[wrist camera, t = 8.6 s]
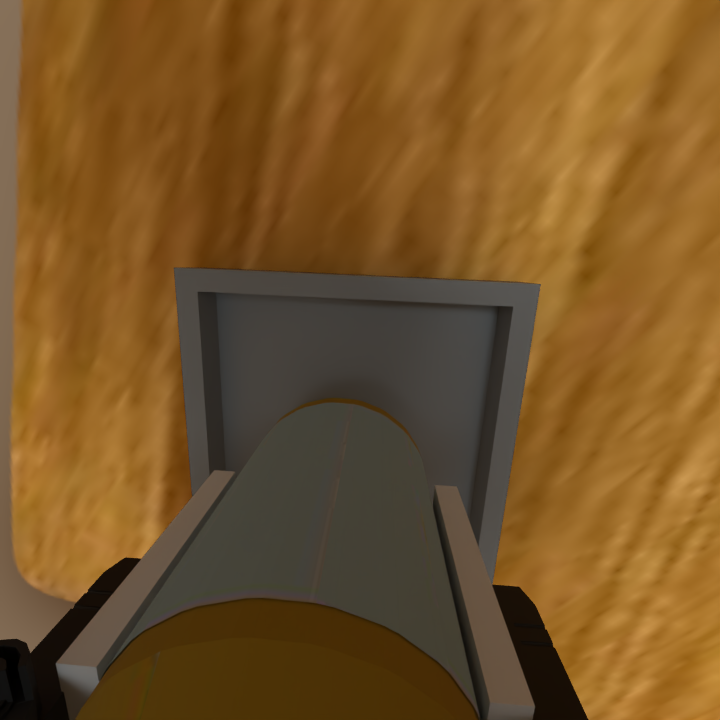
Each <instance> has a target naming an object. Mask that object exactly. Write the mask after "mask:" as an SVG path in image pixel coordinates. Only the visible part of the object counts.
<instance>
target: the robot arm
mask: <svg viewBox="0 0 720 720" xmlns="http://www.w3.org/2000/svg"><path fill="white" fill-rule="evenodd" d="M235 479H236V475H235V472H234V471H219V470H214V471H213V472H212V474H211V475H210V476H209V477H208V478H207V480H206V481H205V482H204V483H203V485H202V486H201V487H200V488H199V489H198V491H197V492H196V493H195V494H194V496H193V497H192V498H191V499H190V500H189V502H188V503H187V504H186V505H185V506H184V508H183V509H182V510H181V511H180V513H179V514H178V515H177V516H176V517H175V519H174V520H173V521H172V522H171V524H170V525H169V526H168V527H167V528H166V530H165V531H164V532H163V533H162V534H161V536H160V537H159V538H158V539H157V541H156V542H155V543H154V544H153V545H152V547H151V548H150V549H149V550H148V552H147V553H146V554H145V555H144V556H143V558H142V559H138V558H124V559H122V560H121V561H119V562H118V563H117V564H115V565H114V566H112V567H111V568H109V569H108V570H106V571H105V572H104V573H103V574H102V575H101V576H100V577H99V578H98V579H97V581H96V582H95V583H94V584H93V585H92V586H91V587H90V588H89V589H88V592H87V593H85V594H84V595H83V596H82V597H81V598H80V599H79V600H78V602H77V603H76V604H75V606H74V608H73V609H70V610H69V611H68V613H67V614H66V615H65V616H64V617H63V618H62V619H61V620H60V621H59V623H58V624H57V625H56V626H55V627H54V628H53V629H52V630H51V631H50V632H49V633H48V635H47V636H46V637H45V638H44V639H43V640H42V641H41V642H40V644H38V646H37V647H36V648H35V649H34V650H33V651H32V652H31V653H30V651H29V649H28V646H27V643H25V642H23V641H20V640H18V639H7V640H0V720H75V719H76V717H77V715H78V713H79V712H80V710H81V708H82V707H83V705H84V704H85V702H86V701H87V699H88V698H89V696H90V695H91V694H92V692H93V691H94V689H95V688H96V686H97V685H98V683H99V682H100V680H101V678H102V676H103V674H104V672H105V670H106V669H107V667H108V665H109V664H110V662H111V661H112V660H113V658H114V657H115V655H116V654H117V652H118V651H119V649H120V648H121V646H122V645H123V643H124V642H125V641H126V639H127V638H128V636H129V635H130V633H131V632H132V630H133V629H134V627H135V626H136V624H137V623H138V621H139V620H140V619H141V617H142V616H143V614H144V613H145V611H146V610H147V608H148V607H149V605H150V604H151V602H152V601H153V600H154V598H155V597H156V595H157V594H158V592H159V591H160V589H161V588H162V586H163V585H164V583H165V582H166V580H167V579H168V578H169V576H170V575H171V573H172V572H173V570H174V569H175V567H176V566H177V564H178V563H179V561H180V560H181V559H182V557H183V556H184V554H185V553H186V551H187V550H188V548H189V547H190V545H191V544H192V542H193V541H194V539H195V538H196V537H197V535H198V534H199V532H200V531H201V529H202V528H203V526H204V525H205V523H206V522H207V520H208V519H209V518H210V516H211V515H212V513H213V512H214V510H215V509H216V507H217V506H218V504H219V503H220V501H221V500H222V498H223V497H224V496H225V494H226V493H227V491H228V490H229V488H230V487H231V485H232V484H233V482H234V481H235ZM433 510H434V515H435V519H436V524H437V528H438V533H439V537H440V541H441V546H442V550H443V555H444V559H445V564H446V568H447V573H448V577H449V582H450V586H451V590H452V595H453V599H454V604H455V608H456V613H457V617H458V622H459V626H460V630H461V635H462V639H463V644H464V648H465V653H466V657H467V662H468V666H469V671H470V675H471V679H472V684H473V688H474V693H475V697H476V702H477V706H478V711H479V715H480V718H479V720H588V718H587V716H586V714H585V712H584V710H583V707H582V705H581V703H580V701H579V699H578V697H577V694H576V692H575V690H574V688H573V686H572V684H571V681H570V679H569V677H568V675H567V673H566V671H565V669H564V666H563V664H562V662H561V660H560V658H559V656H558V653H557V651H556V649H555V648H554V647H553V643H552V640H551V638H550V636H549V634H548V632H547V630H545V625H544V623H543V621H542V619H541V617H540V614H539V612H538V610H537V608H536V606H535V604H534V603H533V602H532V601H531V600H530V599H529V597H528V596H527V595H526V594H525V593H524V592H523V591H522V590H521V588H520V587H515V586H503V585H492V584H491V581H490V578H489V575H488V573H487V570H486V567H485V564H484V561H483V559H482V556H481V553H480V550H479V547H478V544H477V542H476V539H475V536H474V533H473V530H472V528H471V525H470V522H469V519H468V516H467V514H466V511H465V508H464V505H463V502H462V499H461V497H460V494H459V491H458V488H457V486H442V485H435V488H434V497H433ZM478 717H479V716H478Z"/></svg>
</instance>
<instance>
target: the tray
mask: <svg viewBox="0 0 720 720" xmlns="http://www.w3.org/2000/svg"><path fill="white" fill-rule="evenodd" d="M174 274H175V287H176V299H177V312H178V324H179V337H180V350H181V362H182V375H183V387H184V400H185V412H186V425H187V437H188V450H189V462H190V475H191V488H192V497H193V496H194V494H195V493H196V492H197V491H198V489H199V488H200V487H201V486H202V485H203V483H204V482H205V481H206V480H207V478H208V477H209V476H210V475H211V474H212V472H213V471H214V470H219V471H234V472H235V475H236V478H237V477H238V475H239V474H240V472H241V471H242V469H243V468H244V466H245V465H246V463H247V462H248V460H249V459H250V457H251V456H252V455H253V453H254V452H255V450H256V449H257V447H258V446H259V444H260V443H261V441H262V440H263V439H264V437H265V436H266V435H267V434H268V432H269V431H270V430H271V429H272V428H273V427H274V425H275V424H276V423H277V422H278V421H279V419H280V418H282V417H283V416H284V415H285V414H287V413H289V412H290V411H292V410H294V409H295V408H297V407H299V406H300V405H303V404H305V403H308V402H312V401H316V400H321V399H325V398H345V399H356V400H360V401H363V402H366V403H368V404H371V405H373V406H376V407H378V408H381V409H382V410H384V411H386V412H387V413H389V414H390V415H391V416H392V417H394V418H395V419H396V420H397V421H398V422H400V423H401V424H402V425H403V426H404V427H405V428H406V429H407V431H408V432H409V434H410V435H411V437H412V439H413V440H414V442H415V443H416V445H417V447H418V449H419V452H420V456H421V458H422V462H423V466H424V470H425V475H426V479H427V484H428V488H429V492H430V497H431V501H432V506H433V497H434V488H435V485H442V486H457V488H458V491H459V494H460V497H461V499H462V502H463V505H464V508H465V511H466V514H467V516H468V519H469V522H470V525H471V528H472V530H473V533H474V536H475V539H476V542H477V544H478V547H479V550H480V553H481V556H482V559H483V561H484V564H485V567H486V570H487V573H488V575H489V578H490V581H491V584H492V583H493V577H494V571H495V564H496V558H497V552H498V546H499V540H500V533H501V527H502V521H503V515H504V508H505V502H506V496H507V490H508V484H509V477H510V471H511V465H512V459H513V453H514V446H515V440H516V434H517V428H518V422H519V415H520V409H521V403H522V397H523V390H524V384H525V378H526V372H527V366H528V359H529V353H530V347H531V341H532V335H533V328H534V322H535V316H536V310H537V303H538V297H539V291H540V285H541V284H534V283H524V282H508V281H486V280H464V279H442V278H420V277H397V276H375V275H353V274H331V273H309V272H287V271H265V270H242V269H220V268H174Z"/></svg>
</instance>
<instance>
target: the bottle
mask: <svg viewBox="0 0 720 720" xmlns="http://www.w3.org/2000/svg"><path fill="white" fill-rule="evenodd" d="M478 716H479V717H478ZM479 718H480V715H479V711H478V706H477V702H476V697H475V693H474V688H473V684H472V679H471V675H470V671H469V666H468V662H467V657H466V653H465V648H464V644H463V639H462V635H461V630H460V626H459V622H458V617H457V613H456V608H455V604H454V599H453V595H452V590H451V586H450V582H449V577H448V573H447V568H446V564H445V559H444V555H443V550H442V546H441V541H440V537H439V533H438V528H437V524H436V519H435V515H434V510H433V506H432V501H431V497H430V492H429V488H428V484H427V479H426V475H425V470H424V466H423V462H422V458H421V456H420V452H419V449H418V447H417V445H416V443H415V442H414V440H413V439H412V437H411V435H410V434H409V432H408V431H407V429H406V428H405V427H404V426H403V425H402V424H401V423H400V422H398V421H397V420H396V419H395V418H394V417H392V416H391V415H390V414H389V413H387V412H386V411H384V410H382V409H381V408H378V407H376V406H373V405H371V404H368V403H366V402H363V401H360V400H356V399H345V398H325V399H321V400H316V401H312V402H308V403H305V404H303V405H300V406H299V407H297V408H295V409H294V410H292V411H290V412H289V413H287V414H285V415H284V416H283V417H282V418H280V419H279V421H278V422H277V423H276V424H275V425H274V427H273V428H272V429H271V430H270V431H269V432H268V434H267V435H266V436H265V437H264V439H263V440H262V441H261V443H260V444H259V446H258V447H257V449H256V450H255V452H254V453H253V455H252V456H251V457H250V459H249V460H248V462H247V463H246V465H245V466H244V468H243V469H242V471H241V472H240V474H239V475H238V477H237V478H236V479H235V481H234V482H233V484H232V485H231V487H230V488H229V490H228V491H227V493H226V494H225V496H224V497H223V498H222V500H221V501H220V503H219V504H218V506H217V507H216V509H215V510H214V512H213V513H212V515H211V516H210V518H209V519H208V520H207V522H206V523H205V525H204V526H203V528H202V529H201V531H200V532H199V534H198V535H197V537H196V538H195V539H194V541H193V542H192V544H191V545H190V547H189V548H188V550H187V551H186V553H185V554H184V556H183V557H182V559H181V560H180V561H179V563H178V564H177V566H176V567H175V569H174V570H173V572H172V573H171V575H170V576H169V578H168V579H167V580H166V582H165V583H164V585H163V586H162V588H161V589H160V591H159V592H158V594H157V595H156V597H155V598H154V600H153V601H152V602H151V604H150V605H149V607H148V608H147V610H146V611H145V613H144V614H143V616H142V617H141V619H140V620H139V621H138V623H137V624H136V626H135V627H134V629H133V630H132V632H131V633H130V635H129V636H128V638H127V639H126V641H125V642H124V643H123V645H122V646H121V648H120V649H119V651H118V652H117V654H116V655H115V657H114V658H113V660H112V661H111V662H110V664H109V665H108V667H107V669H106V670H105V672H104V674H103V676H102V678H101V680H100V682H99V683H98V685H97V686H96V688H95V689H94V691H93V692H92V694H91V695H90V696H89V698H88V699H87V701H86V702H85V704H84V705H83V707H82V708H81V710H80V712H79V713H78V715H77V717H76V719H75V720H479Z"/></svg>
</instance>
